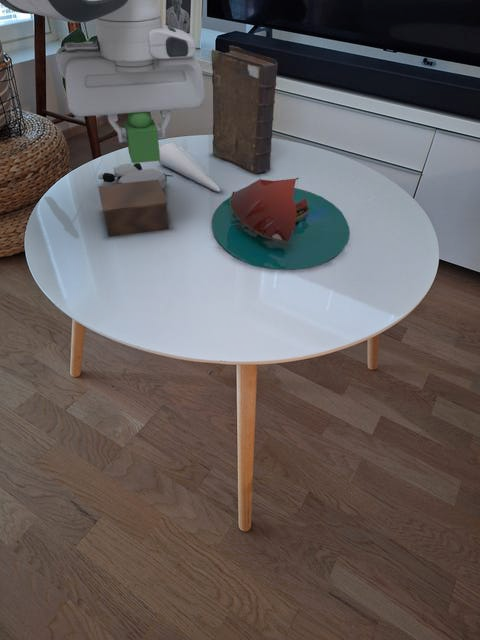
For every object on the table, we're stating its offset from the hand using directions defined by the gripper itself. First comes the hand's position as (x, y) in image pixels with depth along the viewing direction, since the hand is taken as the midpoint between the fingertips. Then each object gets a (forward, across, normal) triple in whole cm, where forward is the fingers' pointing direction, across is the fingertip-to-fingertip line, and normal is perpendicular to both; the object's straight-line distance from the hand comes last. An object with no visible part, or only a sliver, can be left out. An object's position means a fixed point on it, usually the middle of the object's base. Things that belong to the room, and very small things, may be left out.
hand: (142, 139), depth 74 cm
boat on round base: (+22, +26, +2) cm, 34 cm away
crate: (+21, -2, +13) cm, 25 cm away
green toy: (+3, 0, 0) cm, 3 cm away
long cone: (+22, +12, +29) cm, 38 cm away
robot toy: (+22, 0, +27) cm, 34 cm away
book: (+22, +27, +35) cm, 50 cm away
